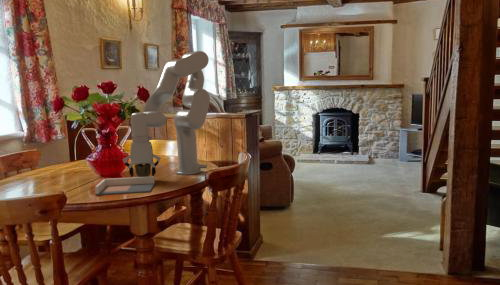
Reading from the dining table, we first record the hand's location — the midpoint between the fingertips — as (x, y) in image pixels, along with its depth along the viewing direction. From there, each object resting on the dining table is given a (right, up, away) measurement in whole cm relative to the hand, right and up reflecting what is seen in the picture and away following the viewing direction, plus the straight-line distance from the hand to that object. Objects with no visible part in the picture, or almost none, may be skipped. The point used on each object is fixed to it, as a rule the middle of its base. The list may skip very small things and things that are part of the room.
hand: (142, 175), depth 201 cm
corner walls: (-3, -5, -16) cm, 17 cm away
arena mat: (-3, -5, -16) cm, 17 cm away
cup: (0, -3, +1) cm, 3 cm away
